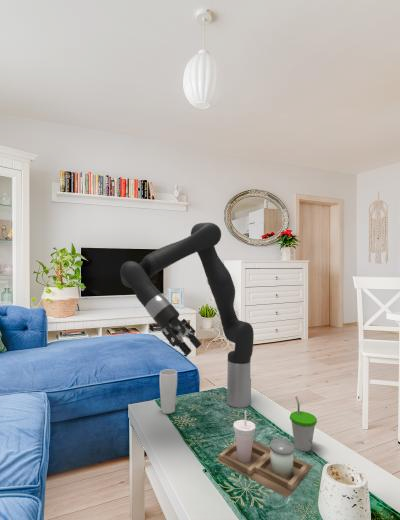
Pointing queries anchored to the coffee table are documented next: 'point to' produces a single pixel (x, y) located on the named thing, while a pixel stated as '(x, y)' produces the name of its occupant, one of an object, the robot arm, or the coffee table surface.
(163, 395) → the drinking glass
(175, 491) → the coffee table surface
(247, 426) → the smoothie
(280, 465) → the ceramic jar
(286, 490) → the walnut tray
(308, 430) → the cup
